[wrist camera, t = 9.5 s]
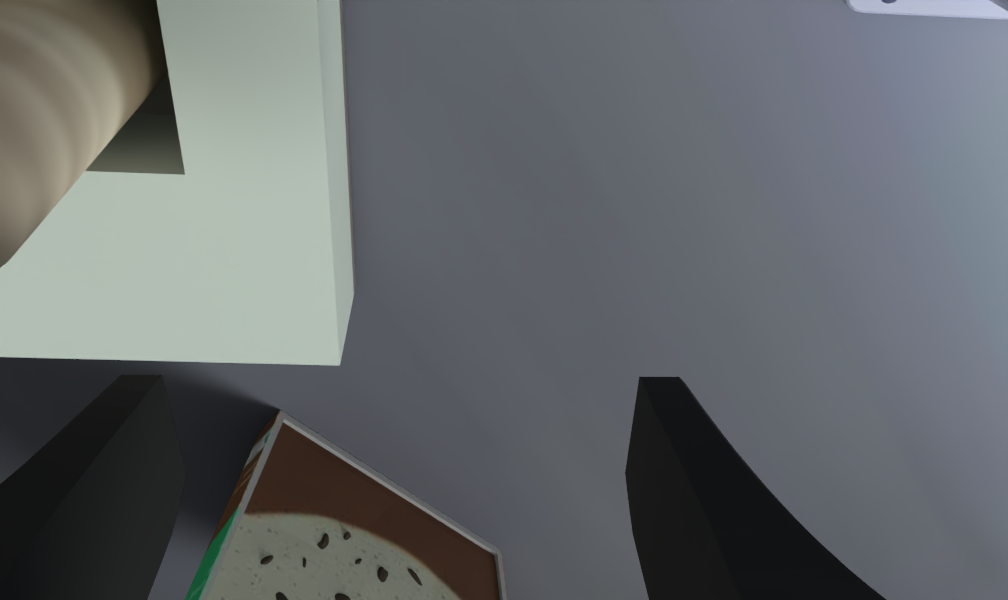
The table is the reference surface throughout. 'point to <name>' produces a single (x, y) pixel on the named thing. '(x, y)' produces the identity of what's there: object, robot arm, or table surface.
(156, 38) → the peg
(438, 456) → the table surface
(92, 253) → the socket block
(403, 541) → the food container
